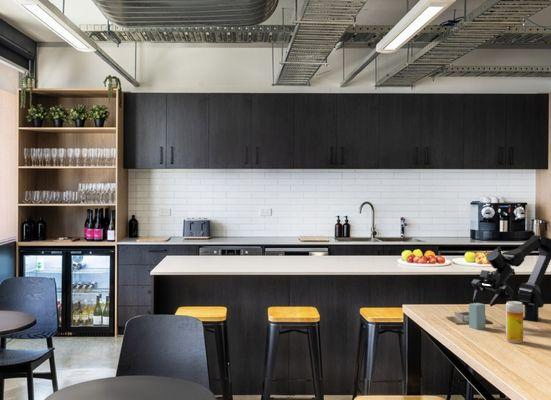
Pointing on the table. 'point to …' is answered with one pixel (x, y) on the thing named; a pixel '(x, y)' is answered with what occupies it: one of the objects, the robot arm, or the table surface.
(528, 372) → the table surface
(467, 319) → the brown framed base board
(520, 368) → the table surface
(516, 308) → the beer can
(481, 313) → the pale blue box
